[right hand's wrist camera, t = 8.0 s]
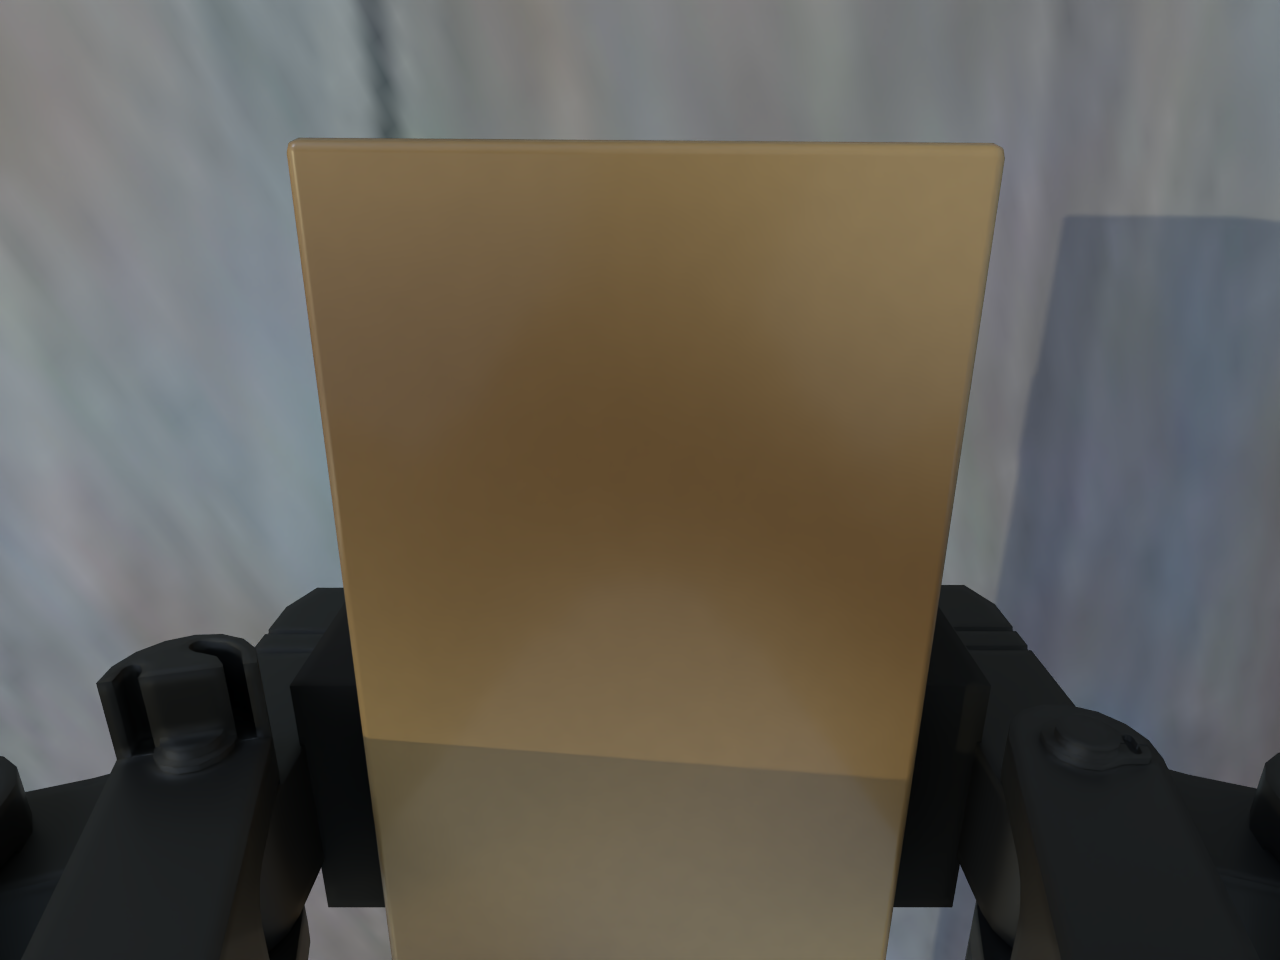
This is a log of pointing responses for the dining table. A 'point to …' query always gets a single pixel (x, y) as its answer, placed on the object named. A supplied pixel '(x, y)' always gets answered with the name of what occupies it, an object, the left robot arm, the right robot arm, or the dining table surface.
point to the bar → (642, 524)
